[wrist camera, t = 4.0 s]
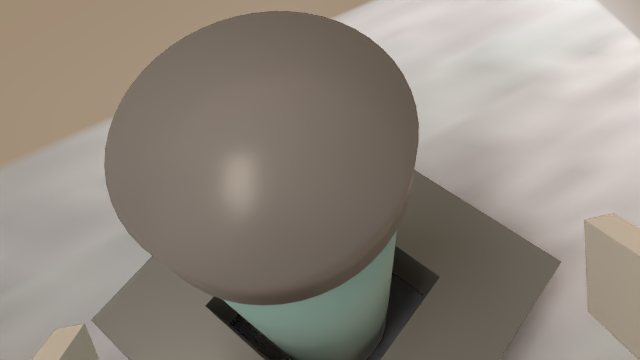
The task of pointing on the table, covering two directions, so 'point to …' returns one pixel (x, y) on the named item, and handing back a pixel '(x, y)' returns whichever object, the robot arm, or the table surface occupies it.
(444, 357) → the housing
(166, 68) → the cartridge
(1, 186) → the table surface
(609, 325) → the robot arm
